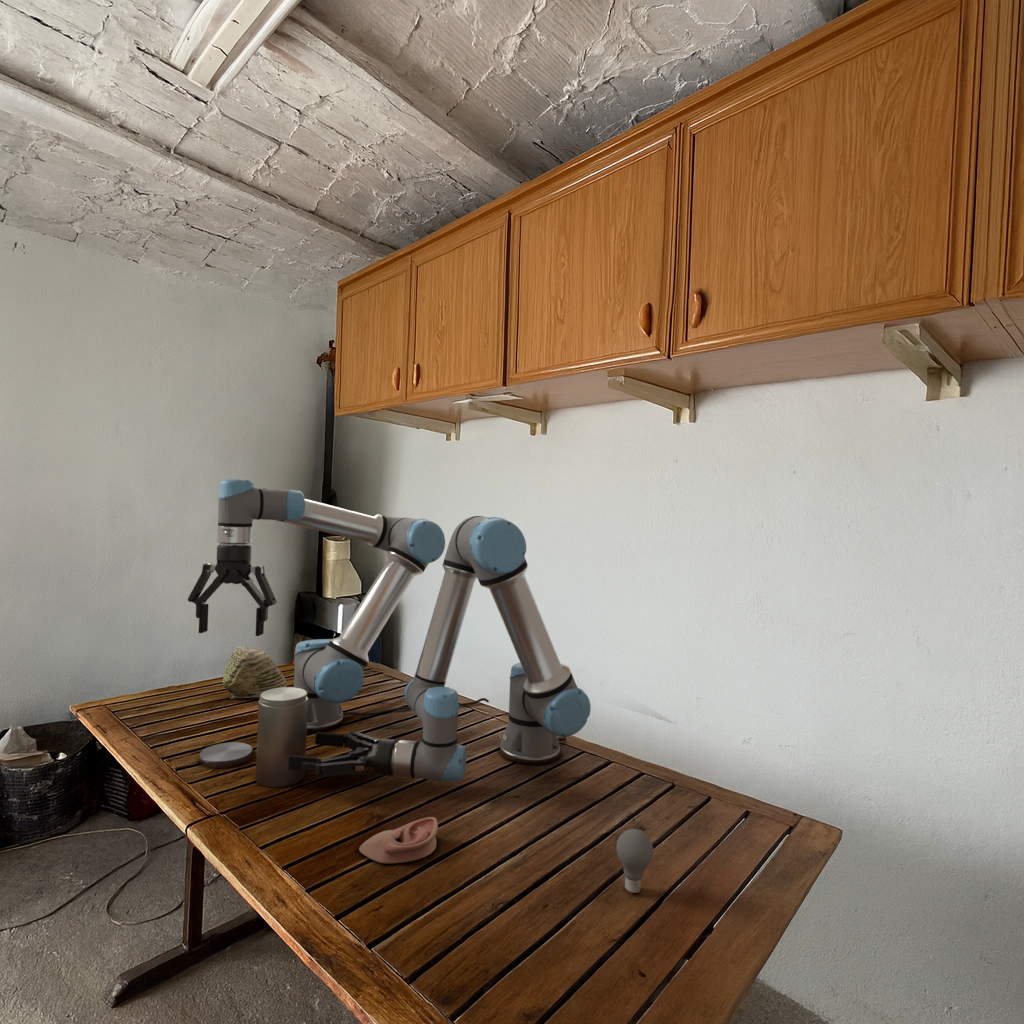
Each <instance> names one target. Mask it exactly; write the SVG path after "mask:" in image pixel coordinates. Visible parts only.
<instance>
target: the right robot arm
mask: <svg viewBox="0 0 1024 1024" xmlns="http://www.w3.org/2000/svg"><path fill="white" fill-rule="evenodd" d="M524 535H525V534H524V533H523V532H522V530H521V529H520V527H518V526H517V525H516V524H514V523H513V522H512V521H510V520H507V519H505V518H502V517H497V516H491V517H490V516H489V517H488V516H484V515H483V516H482V515H473V516H469V517H467V518H465V519H462V521H461V522H460V523H459V524H458V525H457V526H456V527H455V528H454V530H453V532H452V534H451V536H450V539H449V542H448V545H447V548H446V551H445V555H444V559H443V562H442V568H443V570H444V574H443V577H442V581H441V584H440V587H439V590H438V594H437V597H436V601H435V605H434V608H433V612H432V615H431V619H430V622H429V625H428V628H427V632H426V635H425V639H424V643H423V646H422V648H421V649H422V650H421V653H420V655H419V660H418V663H417V667H416V671H415V673H414V676H413V678H412V680H410V681H409V682H407V683H408V684H407V685H406V686H405V689H404V693H403V695H404V700H405V702H406V704H407V707H409V708H410V709H409V710H411V711H412V712H414V714H415V715H416V716H417V718H418V719H419V720H420V721H421V723H422V739H421V740H422V741H416V740H406V739H400V740H398V739H394V738H393V739H390V738H377V737H374V736H371V735H368V734H364V733H362V732H359V731H356V730H351V731H350V732H349V733H335V732H334V733H332V732H323V731H318V732H315V740H314V741H315V742H314V743H315V744H314V745H315V746H326V747H337V748H344V749H350V750H351V751H349V752H348V753H347V754H344V755H339V756H338V755H337V756H333V757H328V758H323V759H322V758H321V757H320V756H317V757H316V756H308V755H307V756H297V755H290V756H289V764H288V769H295V770H305V772H306V771H307V772H316V773H315V777H316V778H317V779H318V778H330V777H339V776H346V775H347V776H348V775H365V774H366V773H365V772H366V768H372V769H373V770H374V771H373V772H374V773H375V775H377V776H386V777H392V776H393V775H394V776H395V777H399V778H405V779H406V780H409V779H420V780H427V781H428V780H429V781H438V782H441V783H443V782H447V783H454V782H457V783H458V782H461V780H462V779H463V778H464V776H465V774H466V773H465V772H466V768H467V759H468V757H467V756H468V755H467V748H466V747H465V746H464V745H461V744H459V743H458V725H459V724H458V723H459V711H460V706H459V704H460V703H459V693H458V691H457V690H456V689H454V688H450V687H449V686H446V683H447V678H448V675H449V671H450V668H451V664H452V661H453V657H454V654H455V650H456V647H457V644H458V641H459V637H460V634H461V630H462V627H463V623H464V620H465V616H466V614H467V609H468V607H469V602H470V599H471V596H472V593H473V589H474V586H475V582H476V580H478V583H479V585H480V586H481V587H483V588H486V589H488V590H489V591H490V594H491V596H492V599H493V601H494V605H496V608H497V611H498V613H499V616H500V618H501V620H502V621H503V626H504V627H505V630H506V632H507V634H508V638H509V640H510V642H511V644H512V647H513V649H514V651H515V653H516V656H517V658H518V660H519V662H517V663H515V664H513V665H512V666H511V668H510V675H509V697H508V699H509V700H508V702H509V703H508V721H507V724H506V727H505V729H504V732H503V734H502V738H501V740H500V743H499V744H500V746H499V752H500V754H501V755H502V756H503V757H504V758H505V759H507V760H509V761H511V762H514V763H518V764H525V765H544V764H548V763H552V762H554V761H556V760H558V758H559V757H560V754H561V745H560V742H566V741H567V737H572V736H574V735H576V734H577V733H579V732H580V731H581V730H582V729H583V728H584V727H585V726H586V724H587V722H588V719H589V717H590V715H591V708H592V707H591V701H590V698H589V696H588V694H587V693H585V691H584V690H583V689H581V688H580V687H578V685H577V683H576V681H575V679H574V676H573V673H572V671H571V668H570V667H569V666H568V665H566V664H563V663H561V661H560V658H559V656H558V654H557V651H556V648H555V646H554V644H553V640H552V639H551V636H550V634H549V631H548V629H547V626H546V623H545V622H544V620H543V617H542V614H541V612H540V609H539V607H538V604H537V602H536V599H535V596H534V594H533V592H532V589H531V587H530V585H529V582H528V580H527V577H526V572H527V569H528V566H529V564H528V562H527V559H526V556H525V555H526V553H527V542H526V538H525V536H524Z"/></svg>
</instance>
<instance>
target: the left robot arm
mask: <svg viewBox="0 0 1024 1024" xmlns="http://www.w3.org/2000/svg"><path fill="white" fill-rule="evenodd" d="M217 500H218V503H217V504H218V505H217V506H218V507H217V508H218V509H217V512H218V513H217V534H216V535H217V538H216V542H217V543H219V544H218V545H217V546H216V563H215V564H213V563H212V562H208V563H203V564H202V569H201V573H200V575H199V577H198V579H197V580H196V583H195V584H194V586H193V588H192V590H191V592H190V593H189V595H188V597H187V601H188V602H189V603H193V604H195V618H196V619H198V634H203V633H206V632H208V631H209V630H208V627H209V603H207V601H208V600H209V598H210V597H211V596H212V595H213V594H214V593H216V591H217V590H218V589H219V588H220V587H221V585H223V584H227V585H229V584H233V585H241V586H243V587H244V589H246V591H247V592H248V594H250V596H251V597H252V598H253V600H254V601H255V603H256V604H257V605H258V607H257V608H256V610H255V613H256V614H255V637H260V636H262V635H264V631H265V630H264V629H265V622H266V621H268V618H269V607H271V606H274V605H276V604H277V601H278V600H277V598H276V597H275V594H274V592H273V589H272V587H271V585H270V583H269V581H268V579H267V576H266V574H265V573H266V571H265V566H264V565H263V564H261V565H257V566H252V563H251V561H252V546H251V545H250V544H252V543H253V520H255V521H256V520H257V521H258V520H263V521H264V520H266V521H277V522H281V523H286V524H290V525H294V526H298V527H302V528H307V529H311V530H315V531H320V532H323V533H328V534H333V535H336V536H341V537H345V538H348V539H353V540H357V541H362V542H366V543H367V545H368V546H369V547H372V548H377V549H379V550H382V551H385V553H386V559H387V560H386V562H385V564H384V565H383V567H382V568H381V570H380V572H379V573H378V575H377V577H376V578H375V580H374V581H373V583H372V584H371V586H370V587H369V589H368V591H367V592H366V594H365V596H364V597H363V599H362V600H361V602H360V604H359V605H358V607H357V608H356V610H355V612H353V614H352V616H351V617H350V619H349V621H348V622H347V624H346V626H345V627H344V629H343V631H342V632H341V633H340V635H339V636H338V637H335V638H323V639H322V638H320V639H307V640H303V641H299V642H297V644H296V645H295V650H294V653H293V654H294V655H293V656H294V672H293V673H294V674H293V687H294V688H300V689H303V690H305V691H307V695H306V696H307V698H308V706H307V733H317V732H325V731H329V730H332V729H335V728H337V727H339V726H340V725H342V723H343V722H344V715H345V716H364V717H365V716H367V717H368V716H377V715H381V714H385V713H386V714H387V713H389V712H397V711H406V710H407V711H408V710H411V709H410V708H409V706H402V707H394V708H393V707H392V708H388V709H383V710H379V711H373V712H356V711H343V709H342V706H341V704H342V703H347V702H349V701H350V700H352V699H354V698H355V697H356V696H357V695H358V694H359V693H360V691H361V689H362V688H363V686H364V681H365V677H364V676H365V675H364V674H365V673H364V671H365V670H366V667H367V666H368V664H369V662H370V660H369V655H368V654H369V651H370V650H371V648H372V646H373V645H374V643H375V642H376V640H377V639H378V637H379V635H380V633H381V632H382V630H383V629H384V627H385V625H386V624H387V622H388V620H389V619H390V617H391V615H392V614H393V612H394V611H395V609H396V607H397V605H398V604H399V603H400V601H401V599H402V597H403V596H404V594H405V592H406V591H407V590H408V588H409V586H410V584H411V583H412V581H413V579H415V578H414V577H416V576H419V575H422V574H424V571H426V569H427V567H428V565H429V564H431V563H434V562H436V561H437V560H439V559H440V558H441V557H442V555H443V554H444V551H445V548H446V538H445V534H444V533H445V532H444V531H443V529H442V528H441V526H440V525H439V524H438V523H436V522H434V521H432V520H429V519H426V518H414V517H413V518H412V517H401V516H400V517H399V516H388V515H382V514H379V513H378V514H375V515H369V514H365V513H361V512H359V511H354V510H349V509H346V508H342V507H339V506H335V505H330V504H327V503H323V502H320V501H315V500H312V499H307V498H306V497H305V495H304V493H303V492H302V491H301V490H295V489H275V488H270V489H269V488H256V487H255V483H254V481H253V480H251V479H237V478H225V479H222V480H221V481H220V483H219V491H218V497H217ZM214 571H215V572H216V574H217V576H216V577H215V578H214V579H213V580H212V582H211V583H210V585H209V586H208V587H207V588H206V589H205V590H204V588H205V587H206V585H207V583H208V581H209V580H210V578H211V575H212V574H213V573H214ZM251 573H252V574H253V575H254V576H255V579H256V581H257V583H258V586H259V588H260V590H261V591H260V590H259V588H258V586H256V584H255V583H254V580H253V579H252V577H250V574H251ZM483 701H484V702H486V703H490V700H489V699H487V698H485V697H481V698H479V699H477V700H475V701H471V702H470V701H469V702H463V703H458V704H459V707H465V706H466V707H467V706H473V705H476V704H478V703H480V702H483Z"/></svg>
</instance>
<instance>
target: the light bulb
mask: <svg viewBox="0 0 1024 1024" xmlns="http://www.w3.org/2000/svg"><path fill="white" fill-rule="evenodd" d="M615 849H616V854H617V857H618V859H619V861H620V863H621V865H622V867H623V873H624V874H623V875H624V876H625V878H624V888H625V890H627V891H628V892H630V893H634V894H635V893H639V892H640V891H641V889H642V887H641V886H642V879H643V877H644V875H645V871H646V868H647V867H648V866H649V864H650V863H651V861H652V859H653V855H654V847H653V843H652V841H651V838H649V836H648V835H647V834H646V833H645V832H643V831H642V830H641V829H636V828H629V829H627V830H625V831H623V832H622V833H621V834H620V835H619V837H618V839H617V841H616V847H615Z"/></svg>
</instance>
